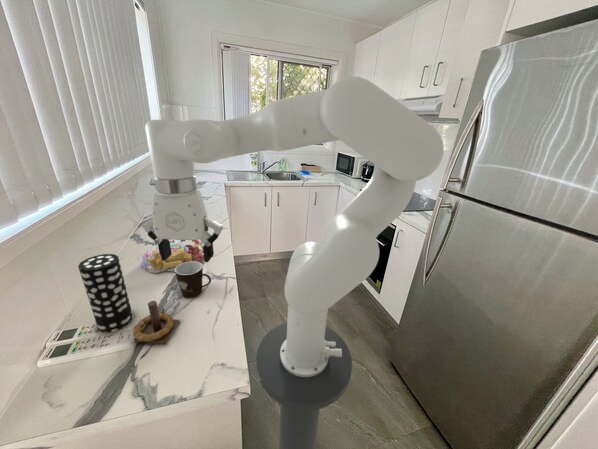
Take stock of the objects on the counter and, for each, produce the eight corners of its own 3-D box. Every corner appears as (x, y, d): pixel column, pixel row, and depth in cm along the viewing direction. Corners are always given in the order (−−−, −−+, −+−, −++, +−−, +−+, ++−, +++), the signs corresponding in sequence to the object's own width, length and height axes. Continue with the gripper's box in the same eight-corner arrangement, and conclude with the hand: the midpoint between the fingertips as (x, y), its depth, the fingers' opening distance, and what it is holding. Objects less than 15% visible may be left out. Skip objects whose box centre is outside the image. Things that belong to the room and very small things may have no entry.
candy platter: (208, 266, 101) (207, 246, 97) (142, 280, 90) (137, 258, 86) (199, 242, 121) (197, 225, 117) (144, 251, 110) (140, 232, 106)
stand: (179, 322, 72) (174, 294, 68) (164, 344, 64) (158, 314, 61) (152, 320, 72) (146, 292, 68) (134, 342, 64) (126, 312, 61)
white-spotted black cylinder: (100, 317, 72) (81, 257, 65) (133, 308, 76) (119, 251, 69) (95, 336, 65) (74, 273, 58) (132, 326, 69) (117, 265, 62)
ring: (180, 317, 72) (179, 312, 71) (162, 344, 63) (161, 338, 62) (147, 315, 72) (146, 310, 71) (125, 342, 63) (124, 336, 62)
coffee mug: (174, 292, 84) (170, 267, 81) (197, 282, 90) (195, 258, 87) (190, 308, 77) (186, 282, 74) (214, 296, 83) (212, 271, 80)
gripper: (122, 187, 46) (140, 265, 52) (212, 191, 46) (219, 268, 52) (145, 180, 53) (159, 249, 60) (224, 183, 53) (229, 252, 59)
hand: (187, 258), depth 56 cm, fingers open, 9 cm apart
